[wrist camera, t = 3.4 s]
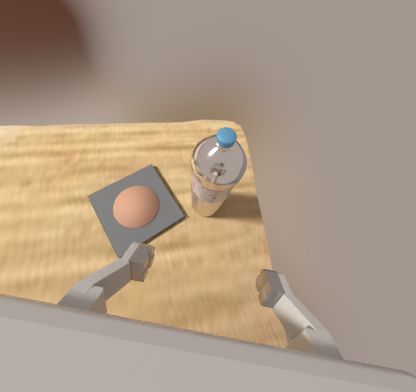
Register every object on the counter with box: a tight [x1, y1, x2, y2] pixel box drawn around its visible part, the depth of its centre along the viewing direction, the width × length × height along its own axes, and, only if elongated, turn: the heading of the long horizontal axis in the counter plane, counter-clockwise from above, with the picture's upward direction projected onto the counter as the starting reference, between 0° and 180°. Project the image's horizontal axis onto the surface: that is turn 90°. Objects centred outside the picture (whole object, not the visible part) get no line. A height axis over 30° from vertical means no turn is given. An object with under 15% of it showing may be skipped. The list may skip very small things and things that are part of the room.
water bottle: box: [190, 127, 247, 216], centre depth 26 cm, size 7×7×25 cm
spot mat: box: [88, 164, 185, 258], centre depth 35 cm, size 16×16×1 cm
